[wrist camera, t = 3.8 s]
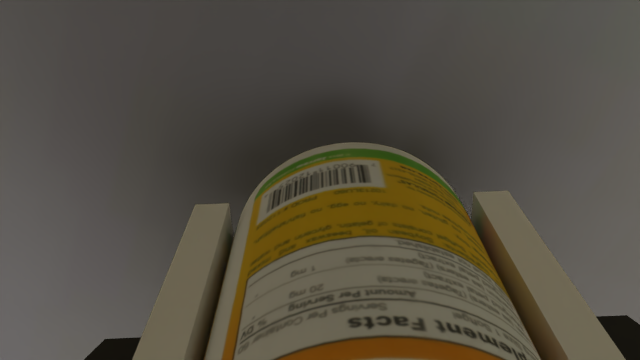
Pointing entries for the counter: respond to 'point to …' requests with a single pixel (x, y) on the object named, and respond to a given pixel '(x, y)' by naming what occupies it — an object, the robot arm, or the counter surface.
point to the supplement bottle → (361, 267)
